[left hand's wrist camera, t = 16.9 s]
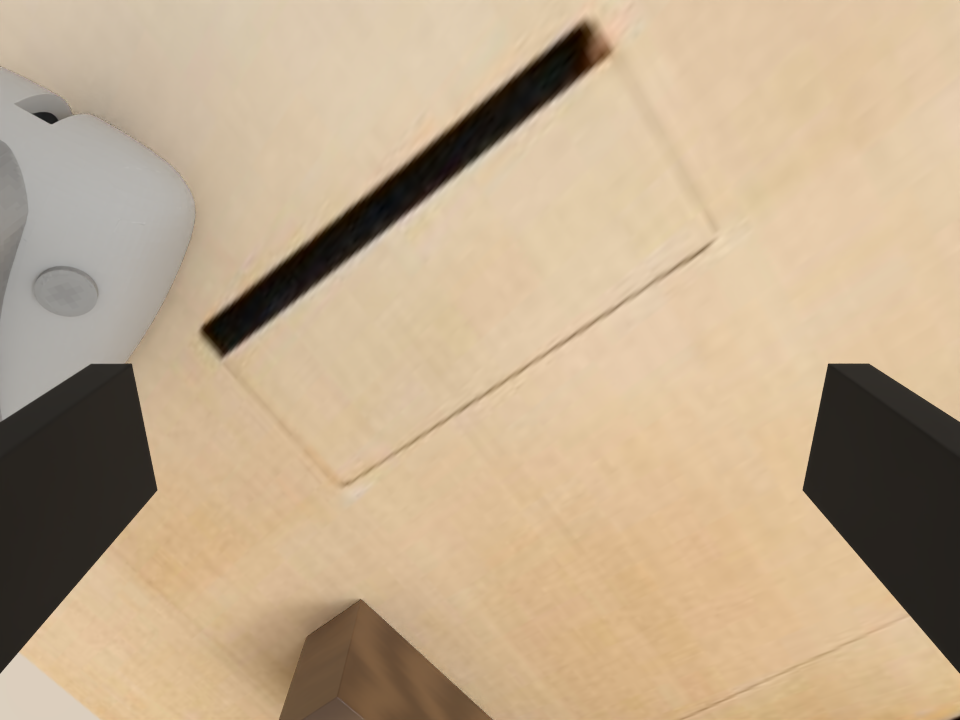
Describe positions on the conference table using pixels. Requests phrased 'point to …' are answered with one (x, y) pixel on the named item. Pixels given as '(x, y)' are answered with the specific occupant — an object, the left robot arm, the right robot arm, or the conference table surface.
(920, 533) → the left robot arm
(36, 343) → the projector
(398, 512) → the conference table surface
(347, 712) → the box
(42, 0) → the conference table surface
